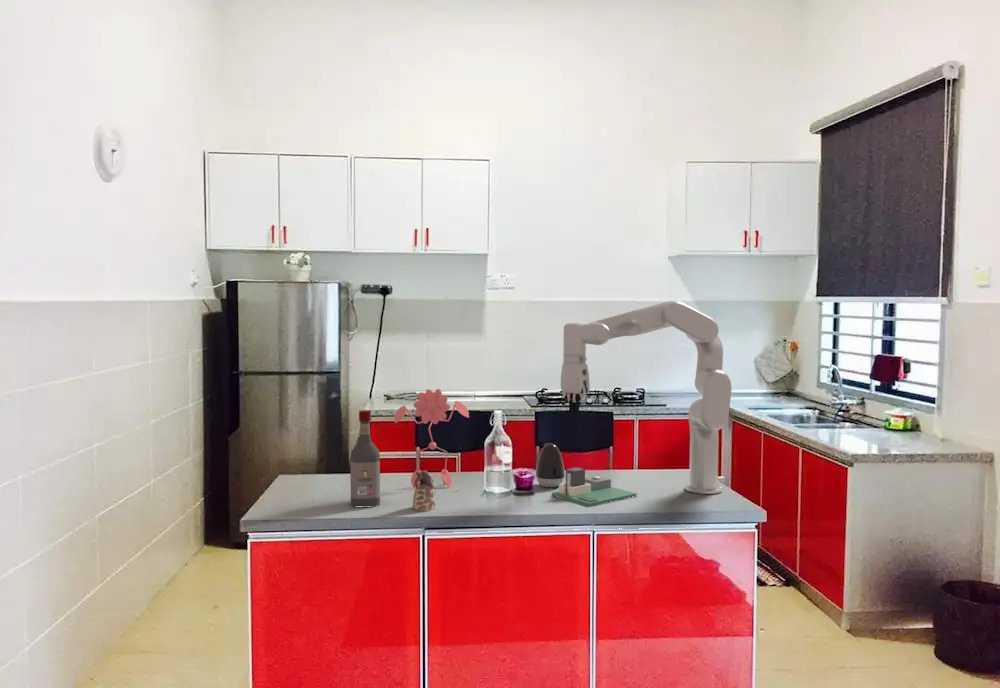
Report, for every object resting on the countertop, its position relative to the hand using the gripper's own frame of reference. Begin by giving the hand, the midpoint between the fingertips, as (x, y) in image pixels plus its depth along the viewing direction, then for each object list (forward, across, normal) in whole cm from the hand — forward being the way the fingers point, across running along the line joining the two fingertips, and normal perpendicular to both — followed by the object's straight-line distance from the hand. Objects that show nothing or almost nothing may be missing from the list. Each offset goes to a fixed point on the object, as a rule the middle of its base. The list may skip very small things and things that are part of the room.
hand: (574, 413), depth 273 cm
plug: (+26, -4, +3) cm, 27 cm away
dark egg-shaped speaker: (+27, +12, 0) cm, 30 cm away
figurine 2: (+27, +13, +52) cm, 60 cm away
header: (+27, -4, +3) cm, 28 cm away
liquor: (+27, +29, +64) cm, 75 cm away
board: (+27, -8, -2) cm, 28 cm away
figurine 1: (+27, +33, +36) cm, 56 cm away
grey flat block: (+26, -2, -9) cm, 28 cm away
